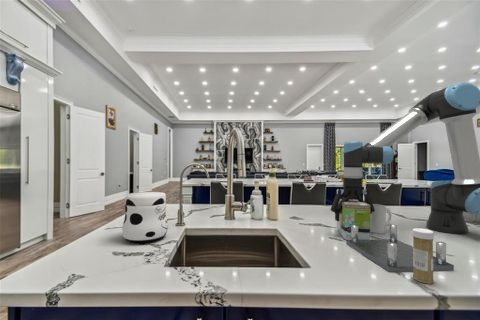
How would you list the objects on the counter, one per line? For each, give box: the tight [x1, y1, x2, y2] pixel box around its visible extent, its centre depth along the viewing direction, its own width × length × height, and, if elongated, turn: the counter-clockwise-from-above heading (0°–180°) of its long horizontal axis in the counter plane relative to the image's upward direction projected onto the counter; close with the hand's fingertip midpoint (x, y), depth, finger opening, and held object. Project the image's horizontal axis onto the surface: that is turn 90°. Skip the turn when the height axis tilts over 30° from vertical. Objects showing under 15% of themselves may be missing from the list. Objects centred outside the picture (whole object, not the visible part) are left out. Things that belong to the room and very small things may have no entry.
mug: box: [370, 203, 392, 235], centre depth 110 cm, size 10×7×12 cm, turn 94°
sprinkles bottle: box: [412, 227, 435, 284], centre depth 65 cm, size 5×5×14 cm
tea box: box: [336, 198, 371, 241], centre depth 104 cm, size 15×10×15 cm
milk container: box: [121, 191, 169, 243], centre depth 99 cm, size 17×17×18 cm
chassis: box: [345, 223, 455, 273], centre depth 82 cm, size 20×24×8 cm
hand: (352, 228), depth 104 cm, fingers closed on tea box, 11 cm apart
